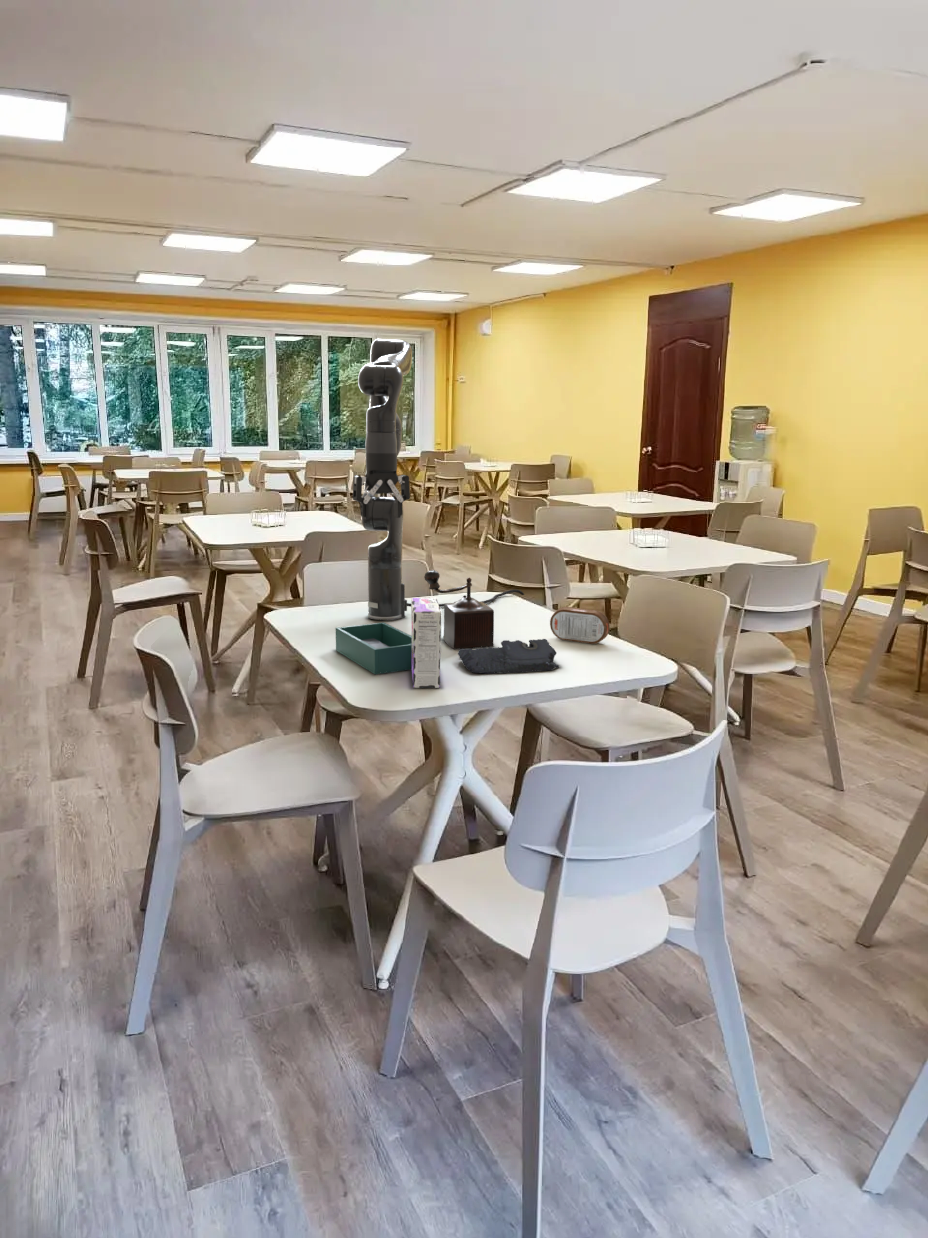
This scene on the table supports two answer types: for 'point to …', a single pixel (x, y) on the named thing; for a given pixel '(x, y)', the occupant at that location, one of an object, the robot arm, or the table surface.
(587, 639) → the tin
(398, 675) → the table surface
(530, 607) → the table surface
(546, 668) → the dark slate chunk
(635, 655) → the table surface
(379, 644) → the remote
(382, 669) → the bin
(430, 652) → the candy box
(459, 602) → the manual coffee grinder
